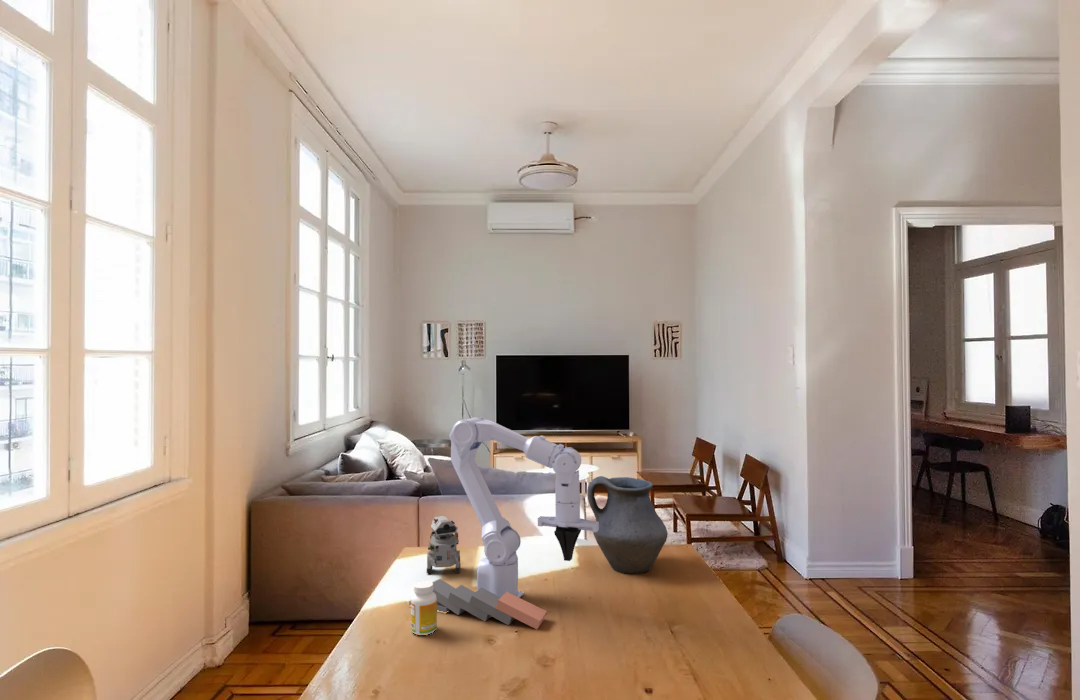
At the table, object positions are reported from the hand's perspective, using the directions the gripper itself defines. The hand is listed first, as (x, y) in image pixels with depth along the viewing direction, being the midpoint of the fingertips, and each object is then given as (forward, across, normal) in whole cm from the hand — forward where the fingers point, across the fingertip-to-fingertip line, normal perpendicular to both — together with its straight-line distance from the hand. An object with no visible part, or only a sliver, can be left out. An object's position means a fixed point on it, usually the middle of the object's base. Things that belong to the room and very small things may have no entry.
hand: (568, 559), depth 138 cm
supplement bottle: (+11, -24, -24) cm, 35 cm away
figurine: (+11, -38, +7) cm, 40 cm away
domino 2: (+9, -20, -12) cm, 26 cm away
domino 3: (+10, -14, -13) cm, 21 cm away
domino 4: (+9, -8, -13) cm, 18 cm away
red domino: (+10, -2, -12) cm, 16 cm away
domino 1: (+10, -24, -12) cm, 29 cm away
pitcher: (+11, +7, +29) cm, 32 cm away
